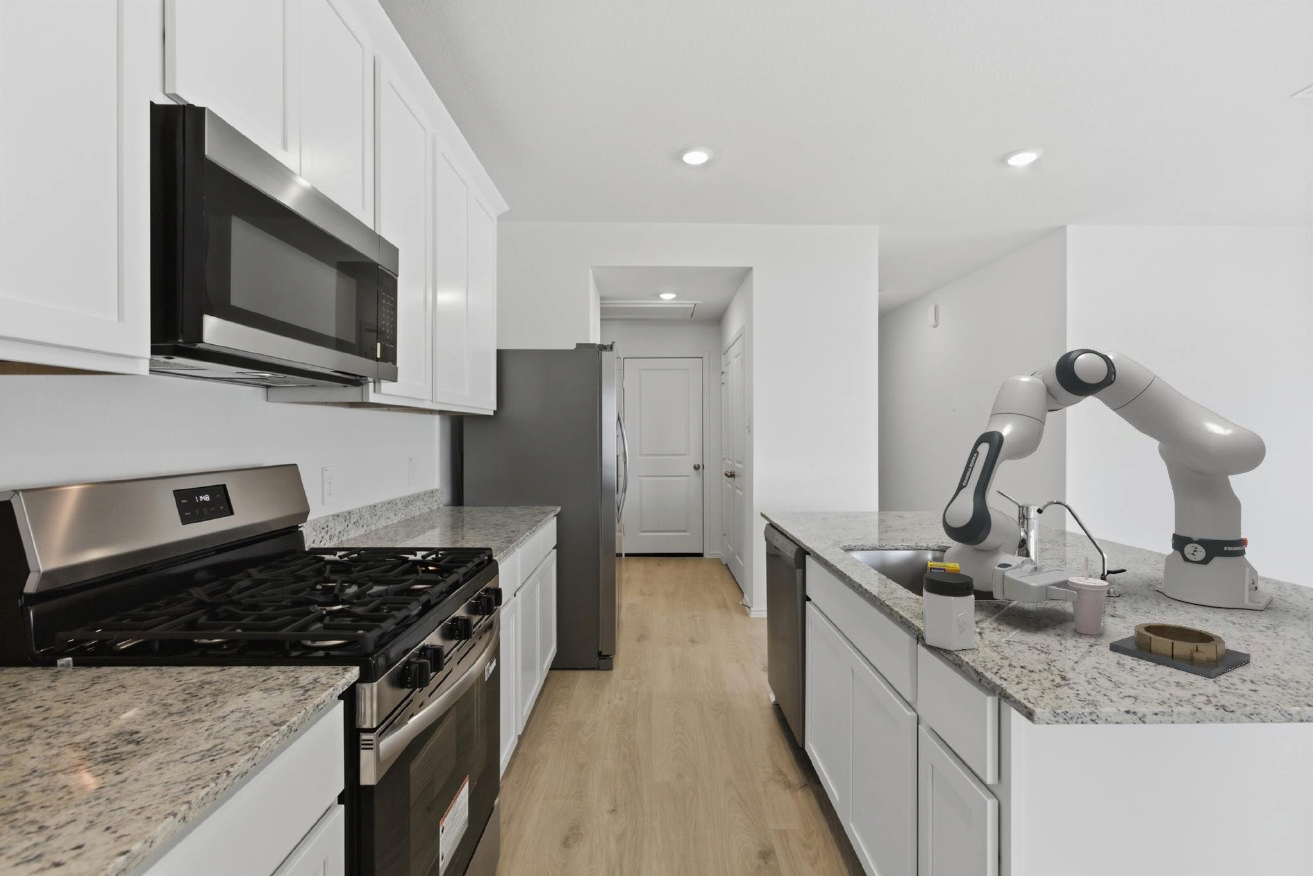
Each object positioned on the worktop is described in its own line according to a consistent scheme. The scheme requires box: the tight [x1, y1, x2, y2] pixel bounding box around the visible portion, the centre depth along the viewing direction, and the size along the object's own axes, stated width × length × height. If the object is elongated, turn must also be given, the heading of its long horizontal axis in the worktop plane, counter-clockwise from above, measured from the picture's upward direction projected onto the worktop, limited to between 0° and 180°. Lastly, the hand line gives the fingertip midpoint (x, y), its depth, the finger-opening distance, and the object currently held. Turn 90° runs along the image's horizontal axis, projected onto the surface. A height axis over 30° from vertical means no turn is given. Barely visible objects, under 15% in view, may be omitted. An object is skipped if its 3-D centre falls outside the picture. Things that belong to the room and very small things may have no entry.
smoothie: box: [1068, 556, 1110, 636], centre depth 117 cm, size 6×6×14 cm
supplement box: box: [926, 560, 960, 573], centre depth 126 cm, size 6×6×11 cm
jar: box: [922, 572, 976, 652], centre depth 111 cm, size 9×8×12 cm
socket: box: [1108, 622, 1251, 679], centre depth 105 cm, size 14×14×4 cm
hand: (1092, 593), depth 116 cm, fingers open, 8 cm apart
